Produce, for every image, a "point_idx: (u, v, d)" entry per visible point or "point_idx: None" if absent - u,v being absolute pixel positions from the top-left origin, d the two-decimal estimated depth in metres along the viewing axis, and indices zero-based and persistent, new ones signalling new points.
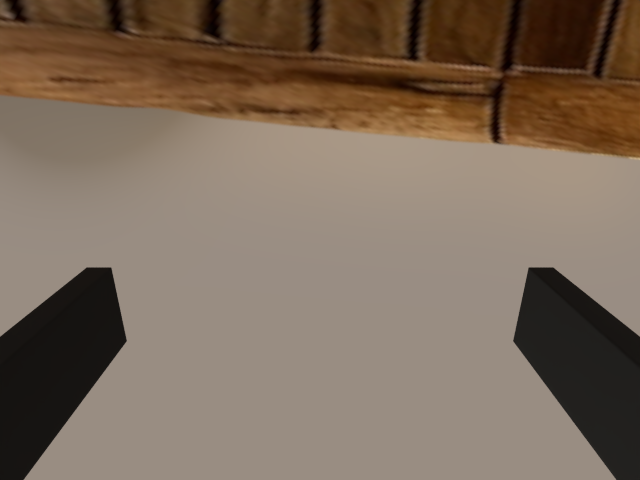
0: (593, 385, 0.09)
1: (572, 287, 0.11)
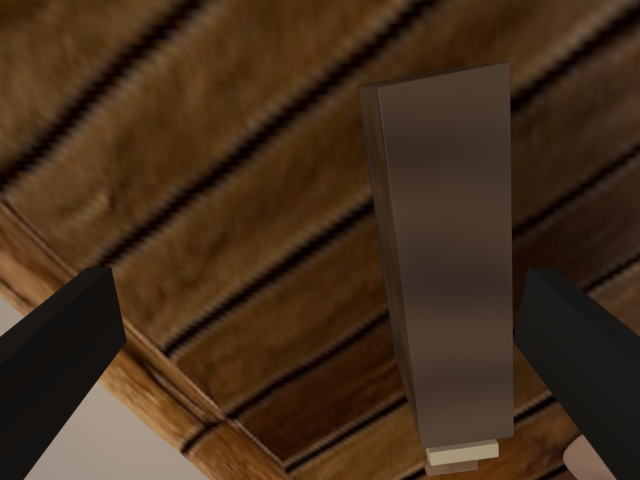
0: (593, 385, 0.09)
1: (572, 287, 0.11)
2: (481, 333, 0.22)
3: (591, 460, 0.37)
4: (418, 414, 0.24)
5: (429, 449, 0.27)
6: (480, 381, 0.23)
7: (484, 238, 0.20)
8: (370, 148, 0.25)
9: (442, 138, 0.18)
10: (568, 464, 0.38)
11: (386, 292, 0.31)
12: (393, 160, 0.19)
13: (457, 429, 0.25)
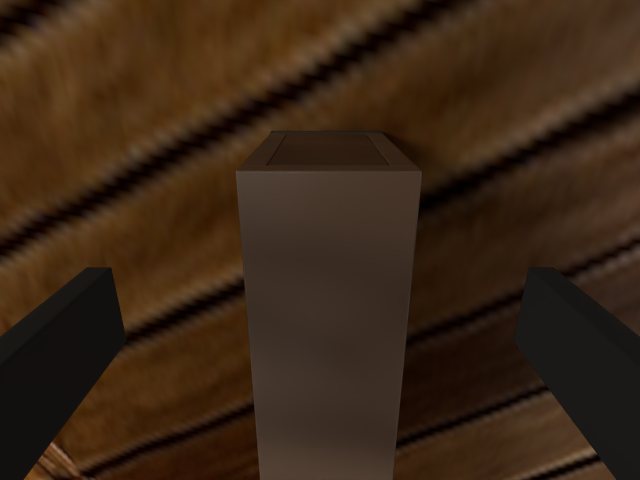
0: (594, 385, 0.09)
1: (572, 287, 0.11)
2: None
3: None
4: None
5: None
6: None
7: (365, 379, 0.15)
8: None
9: (321, 252, 0.13)
10: None
11: None
12: (252, 268, 0.14)
13: None
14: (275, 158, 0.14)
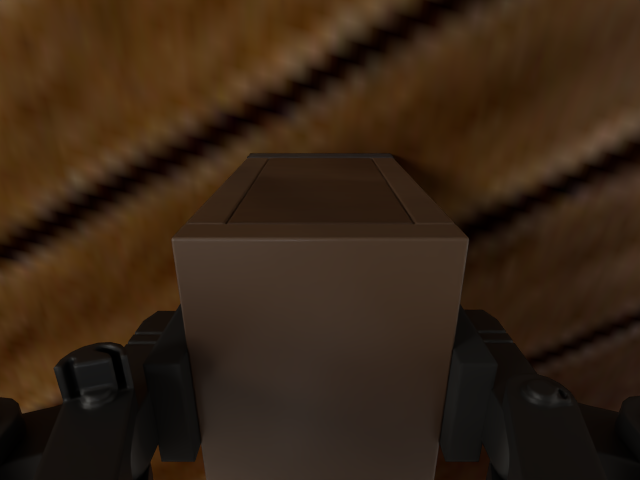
0: None
1: None
2: None
3: None
4: None
5: None
6: None
7: None
8: None
9: (309, 355, 0.09)
10: None
11: None
12: (204, 377, 0.09)
13: None
14: (242, 207, 0.10)
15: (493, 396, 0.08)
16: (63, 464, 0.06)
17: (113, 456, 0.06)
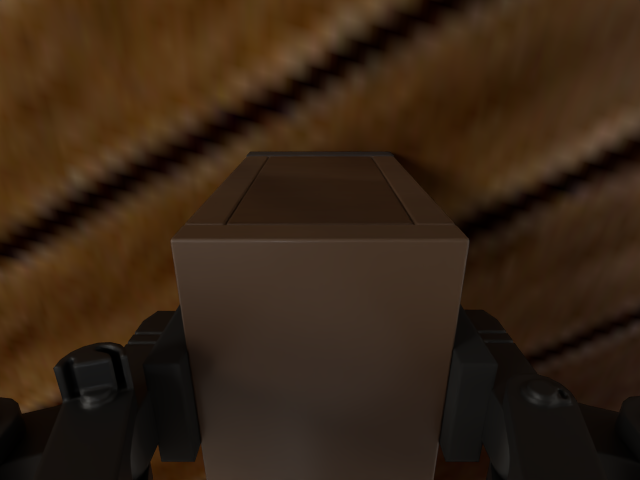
0: None
1: None
2: None
3: None
4: None
5: None
6: None
7: None
8: None
9: (309, 356, 0.09)
10: None
11: None
12: (204, 377, 0.09)
13: None
14: (241, 207, 0.09)
15: (493, 397, 0.08)
16: (63, 465, 0.06)
17: (113, 456, 0.06)
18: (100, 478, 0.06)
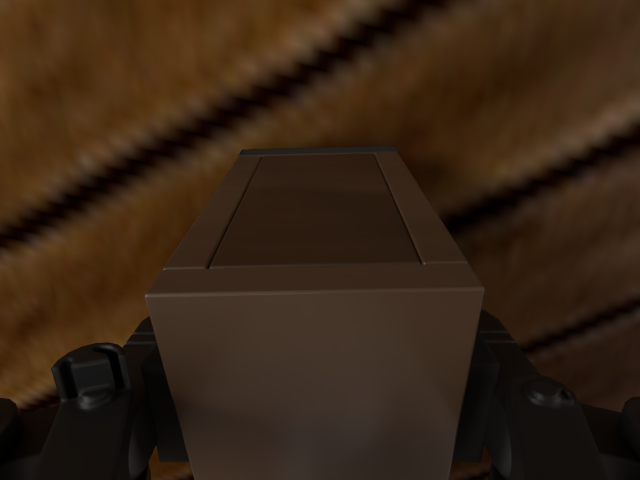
0: None
1: None
2: None
3: None
4: None
5: None
6: None
7: None
8: None
9: (306, 406, 0.08)
10: None
11: None
12: (194, 428, 0.08)
13: None
14: (227, 239, 0.08)
15: (495, 396, 0.08)
16: (61, 466, 0.06)
17: (111, 456, 0.06)
18: (98, 479, 0.06)
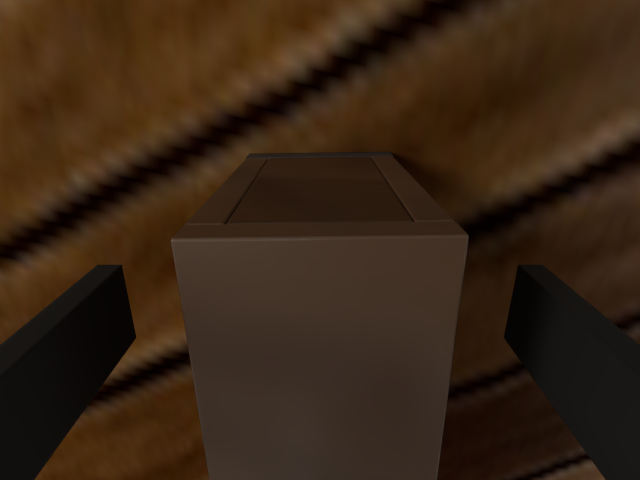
0: (579, 379, 0.10)
1: (560, 284, 0.11)
2: None
3: None
4: None
5: None
6: None
7: None
8: None
9: (310, 354, 0.09)
10: None
11: None
12: (206, 377, 0.09)
13: None
14: (241, 207, 0.10)
15: None
16: None
17: None
18: None
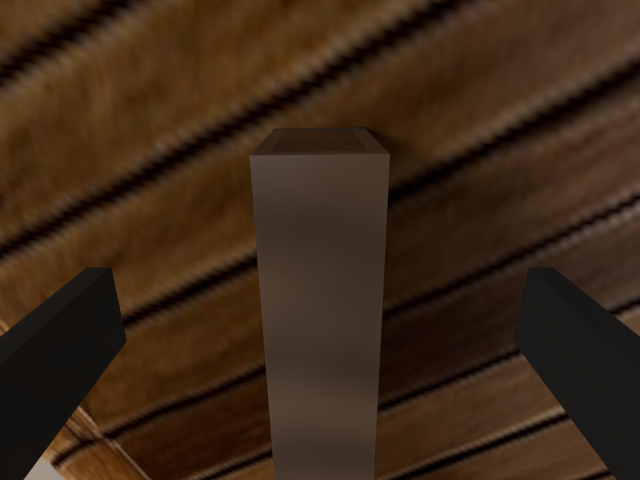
0: (593, 385, 0.09)
1: (572, 287, 0.11)
2: (344, 412, 0.21)
3: None
4: None
5: None
6: (340, 458, 0.23)
7: (352, 322, 0.19)
8: None
9: (315, 217, 0.17)
10: None
11: None
12: (262, 231, 0.17)
13: None
14: (278, 147, 0.18)
15: None
16: None
17: None
18: None
